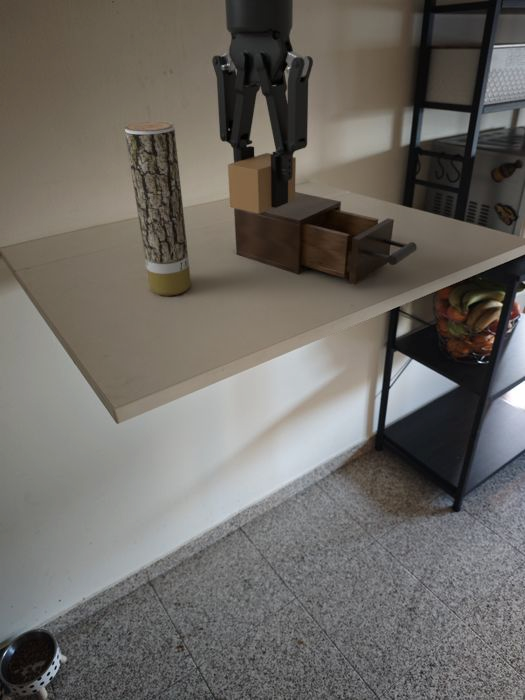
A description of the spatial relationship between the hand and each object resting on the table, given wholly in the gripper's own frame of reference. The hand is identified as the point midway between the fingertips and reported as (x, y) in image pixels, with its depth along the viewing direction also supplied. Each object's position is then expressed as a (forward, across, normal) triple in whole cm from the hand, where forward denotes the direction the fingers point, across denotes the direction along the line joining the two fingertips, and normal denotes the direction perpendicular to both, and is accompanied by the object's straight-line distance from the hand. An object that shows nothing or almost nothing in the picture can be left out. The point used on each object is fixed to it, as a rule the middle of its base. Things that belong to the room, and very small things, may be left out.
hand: (263, 200), depth 68 cm
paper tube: (+17, +17, +4) cm, 24 cm away
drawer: (+16, -4, -19) cm, 25 cm away
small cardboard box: (0, 0, 0) cm, 0 cm away
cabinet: (+16, +10, -19) cm, 27 cm away
